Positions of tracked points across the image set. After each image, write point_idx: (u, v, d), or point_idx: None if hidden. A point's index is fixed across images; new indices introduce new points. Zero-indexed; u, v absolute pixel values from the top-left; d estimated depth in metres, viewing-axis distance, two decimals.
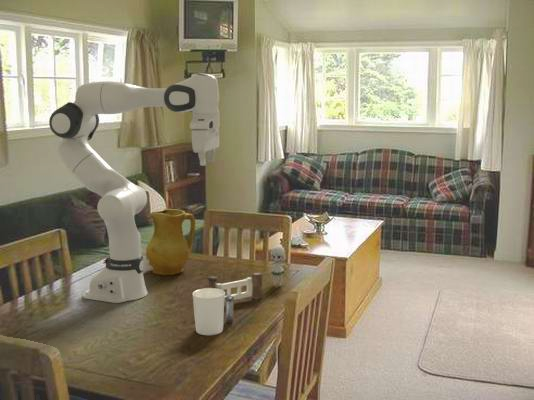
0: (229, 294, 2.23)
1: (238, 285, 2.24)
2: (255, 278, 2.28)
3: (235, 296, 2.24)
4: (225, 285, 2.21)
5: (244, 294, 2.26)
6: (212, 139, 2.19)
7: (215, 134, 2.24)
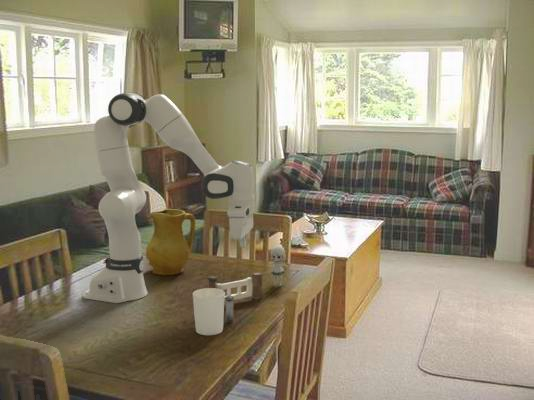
0: (229, 294, 2.23)
1: (238, 285, 2.24)
2: (255, 278, 2.28)
3: (235, 296, 2.24)
4: (225, 285, 2.21)
5: (244, 294, 2.26)
6: (247, 223, 2.29)
7: (250, 216, 2.33)
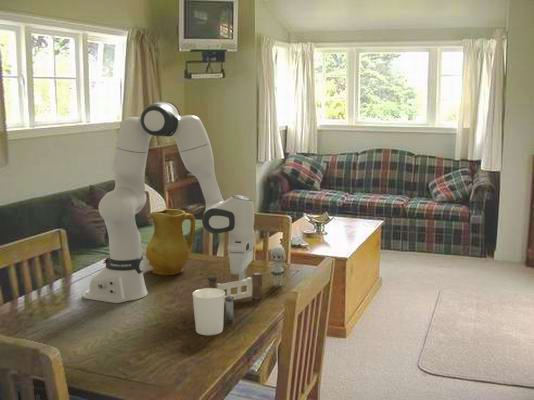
0: (229, 294, 2.23)
1: (238, 285, 2.24)
2: (255, 278, 2.28)
3: (235, 296, 2.24)
4: (225, 285, 2.21)
5: (244, 294, 2.26)
6: (247, 256, 2.31)
7: None
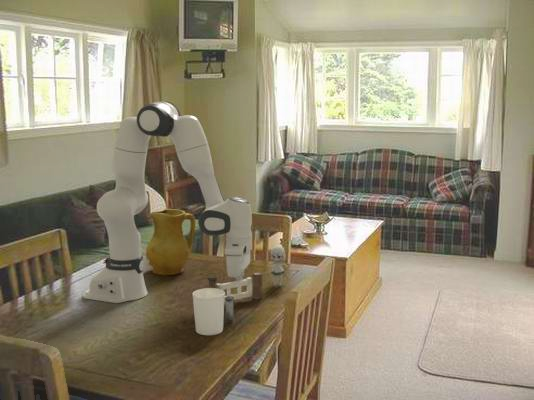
0: (229, 294, 2.23)
1: (238, 285, 2.24)
2: (255, 278, 2.28)
3: (235, 296, 2.24)
4: (225, 285, 2.21)
5: (244, 294, 2.26)
6: (245, 260, 2.27)
7: None
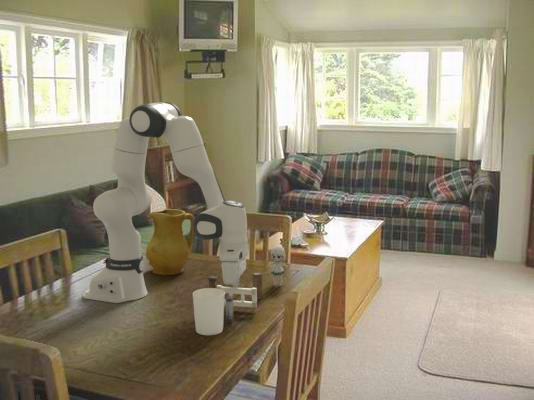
0: None
1: (240, 292, 2.16)
2: (255, 278, 2.28)
3: (236, 303, 2.17)
4: (225, 288, 2.17)
5: (247, 303, 2.16)
6: (240, 265, 2.18)
7: None
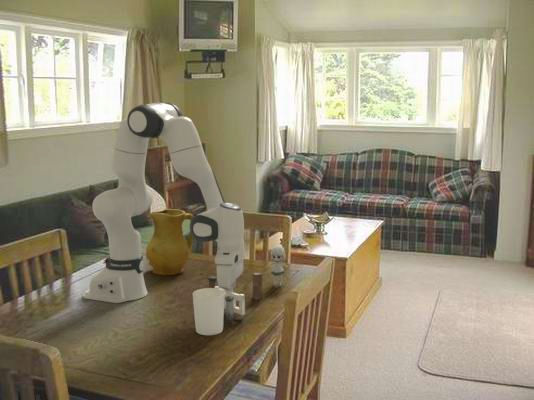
0: None
1: None
2: (255, 278, 2.28)
3: None
4: None
5: (235, 309, 2.11)
6: (237, 269, 2.15)
7: None
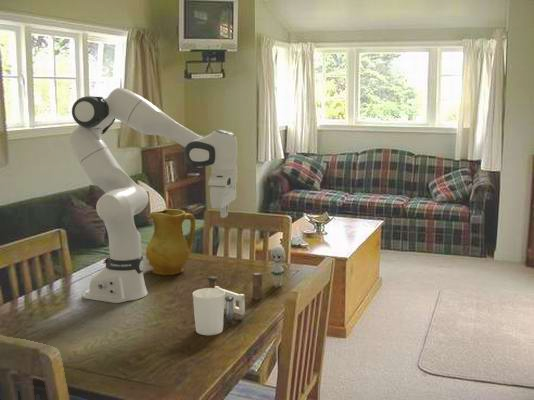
0: None
1: None
2: (255, 278, 2.28)
3: None
4: None
5: (235, 309, 2.11)
6: (229, 193, 2.27)
7: (232, 187, 2.31)
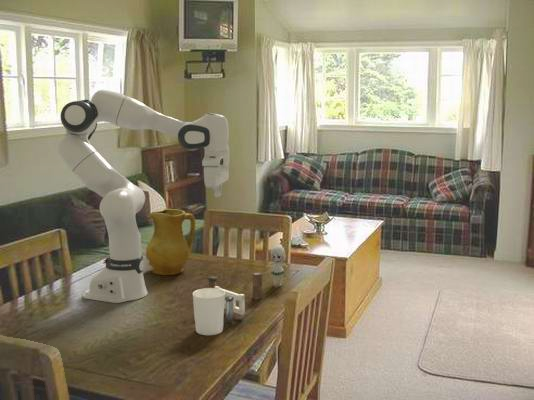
0: None
1: None
2: (255, 278, 2.28)
3: None
4: None
5: (235, 309, 2.11)
6: (222, 174, 2.36)
7: (225, 168, 2.41)
